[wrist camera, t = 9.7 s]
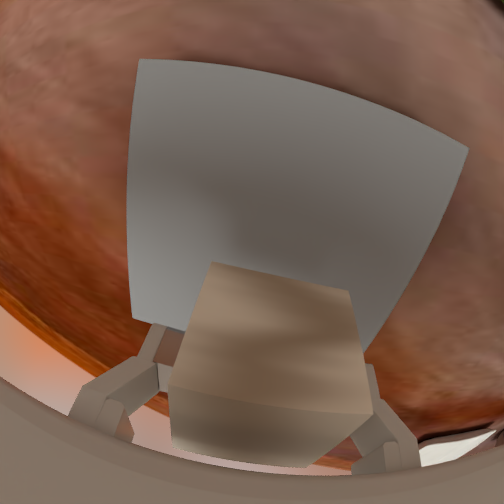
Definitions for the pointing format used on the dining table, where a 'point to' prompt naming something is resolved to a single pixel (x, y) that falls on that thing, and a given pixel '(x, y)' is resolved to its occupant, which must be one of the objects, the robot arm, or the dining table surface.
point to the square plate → (450, 446)
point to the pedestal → (276, 188)
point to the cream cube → (267, 370)
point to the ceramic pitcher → (500, 440)
